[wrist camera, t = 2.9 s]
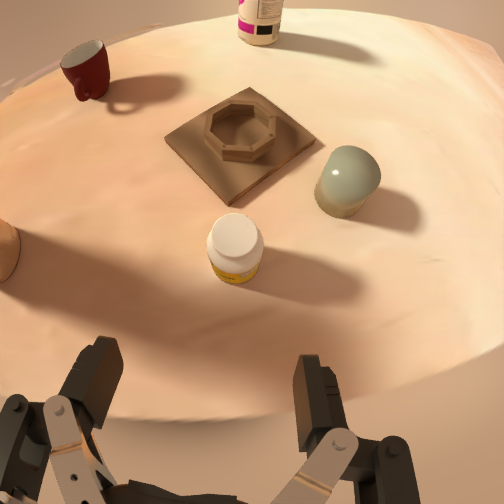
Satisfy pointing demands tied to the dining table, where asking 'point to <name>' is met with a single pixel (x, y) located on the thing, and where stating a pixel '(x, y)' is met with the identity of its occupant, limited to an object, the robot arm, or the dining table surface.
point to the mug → (87, 70)
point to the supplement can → (259, 21)
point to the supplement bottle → (235, 248)
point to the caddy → (239, 143)
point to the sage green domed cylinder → (347, 181)
